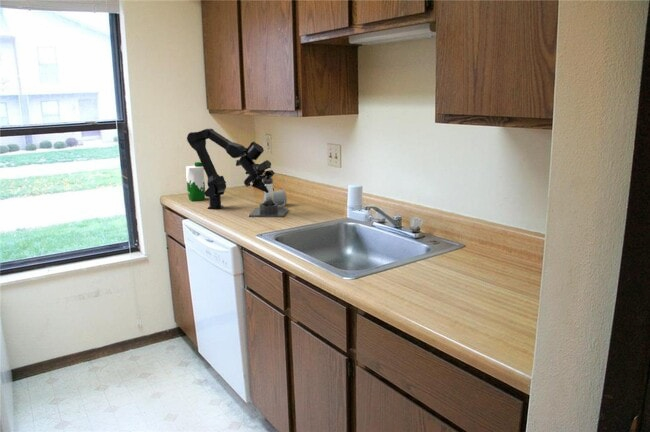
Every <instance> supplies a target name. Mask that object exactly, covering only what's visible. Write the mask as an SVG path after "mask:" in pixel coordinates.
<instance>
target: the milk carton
mask: <svg viewBox="0 0 650 432" xmlns="http://www.w3.org/2000/svg"><path fill="white" fill-rule="evenodd" d="M185 170H186V172H185V175H186V188H187V195H188V196H187V197H188V199H189V201H191V202H199V201H206V196H205V191H206V185H205V170H204V168H203V165H202V163H201V161H198V162H197V161H196V162H194V165H189V166H185Z"/></svg>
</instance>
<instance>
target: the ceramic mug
mask: <svg viewBox="0 0 650 432" xmlns="http://www.w3.org/2000/svg"><path fill="white" fill-rule="evenodd" d="M287 201H288V200H287V194H286V191H285V190H284V189H280V190H274V191H273V203H277V204H278V208H285V207H286V205H287Z"/></svg>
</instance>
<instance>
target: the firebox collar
mask: <svg viewBox="0 0 650 432" xmlns="http://www.w3.org/2000/svg"><path fill="white" fill-rule="evenodd" d="M288 211H289V208H288V207H282V208H278V204H277V203H273V205H271V206H265V205H264V202H262V203H260V204H259V207H255V209H253V210H251V212H250V213H249V215H248V217H249V218H284V217H285V215H287V213H288Z"/></svg>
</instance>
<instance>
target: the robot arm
mask: <svg viewBox="0 0 650 432" xmlns="http://www.w3.org/2000/svg"><path fill="white" fill-rule="evenodd" d="M208 139H209V140H210V141H211V142H213V143H215V144H216V145H218V146H219V147H221V148H222V149H224V150H225V151H226V154H228V155H229V156H230V157H231V158H232V159H236V160H235V162H236V163H235V166H236V167H239V166H241V167H242V168H243V169H244V171H245V174H246V175H247V178H246V179H245V180H244V181H243V183H244V186H245V187H250V186H251V187H252V188H255V189H258V190H260V191H262V192H263V193H264V192H266V193H268V192H269V191H268V189H267V188H266V186H265V185H264V183H263V179H265V178H273V176H274V175H275V172H274V169H273V170H272V169H271V168H272V162H270V160H268V159H267V160H264V161H263V162H261V163H255V161H256V160H258V159H259V157H260V156H261V155H262V154H263V153H264V151H265V150H264V148H263V146H262V145H260V144H259V143H256V141H251V142H250V144H249V145H248V147H246V146H244V145H243V144H241V143H237V142H233V141H231V140H229V139H227V138H226V137H224V136H223V135H222V134H220V133H218V132H217V131H215V129H213V128H205V129H202V130H199V131H194V132H193V131H191V132H189V133H188V134H187V137H186V141H187V143H188V144H189V145H190V147H191V148H192V150H194V151H195V152H196V154H197V157H198V159H199V162H201V163H202V165H203V168H204V173H205V175H206V177H207V186H208V188H207V189H205V198H206V197H208V204H209V206H208V207H207V209H209V210H210V209H211V210H212V209H213V210H218V209H222V208H223V207H224V205H222V197H221V196H223V195H224V194H225V190H226V189H227V182H226V180H225V177H224V176H223V175H220V174H218V172H217V170H216V168H215V166H214V164H213V161H212V159H211V157H210V154H209V152H208V150H207V145H206V144H207V140H208ZM237 158H239V159H237ZM268 169H270V170H268ZM251 184H252V185H251ZM273 191H275V188H274V187H273Z"/></svg>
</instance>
